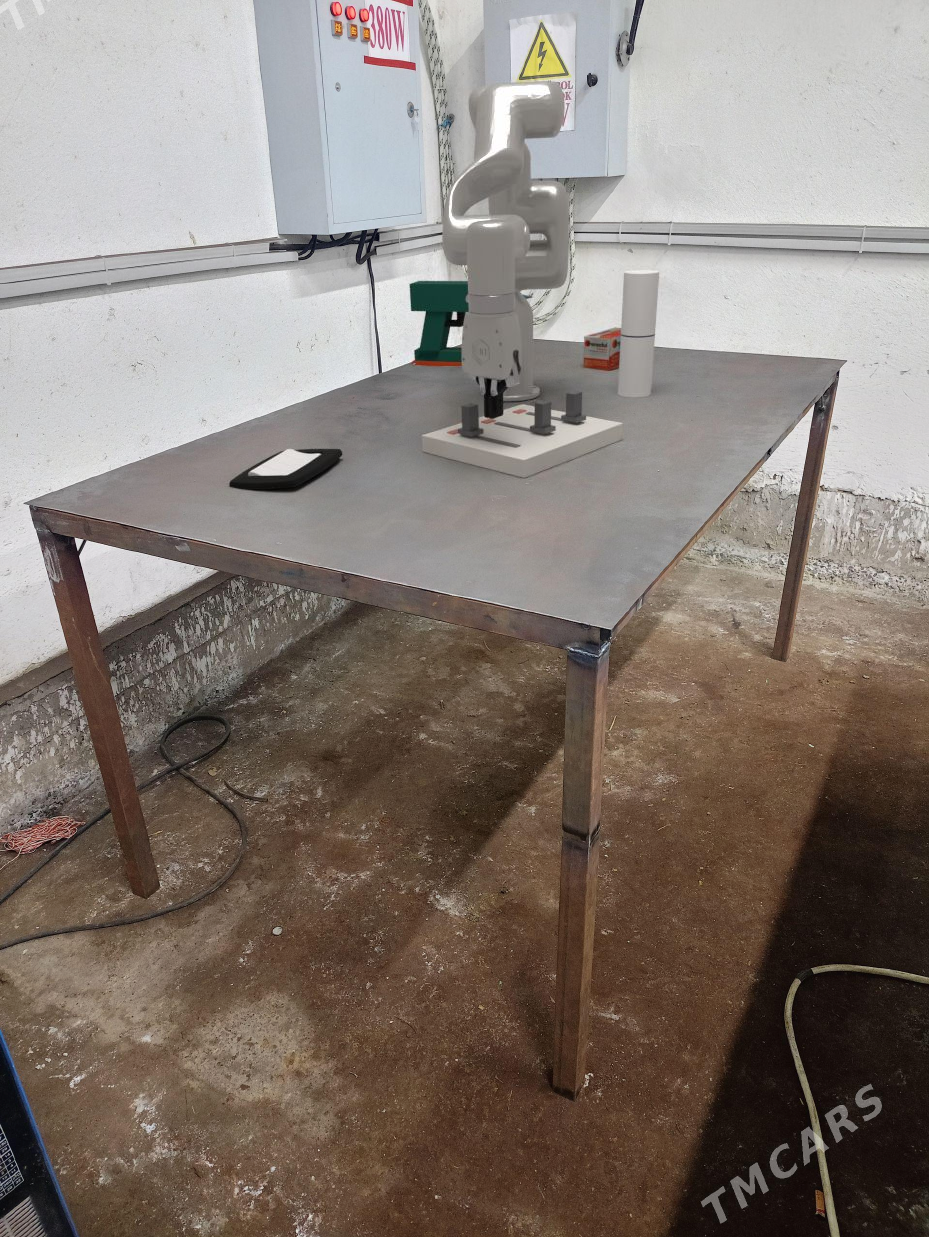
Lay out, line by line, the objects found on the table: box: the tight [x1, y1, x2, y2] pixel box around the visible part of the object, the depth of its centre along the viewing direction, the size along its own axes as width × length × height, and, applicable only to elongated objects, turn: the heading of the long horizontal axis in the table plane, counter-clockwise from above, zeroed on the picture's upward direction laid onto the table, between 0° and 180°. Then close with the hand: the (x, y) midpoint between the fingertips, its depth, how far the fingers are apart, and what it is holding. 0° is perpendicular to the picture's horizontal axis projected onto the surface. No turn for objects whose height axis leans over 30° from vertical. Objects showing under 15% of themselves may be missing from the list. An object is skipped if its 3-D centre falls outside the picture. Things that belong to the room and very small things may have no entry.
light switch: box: [228, 448, 343, 490], centre depth 146 cm, size 20×3×14 cm
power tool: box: [409, 280, 533, 367], centre depth 217 cm, size 32×7×20 cm, turn 71°
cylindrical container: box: [617, 269, 660, 399], centre depth 182 cm, size 7×7×25 cm
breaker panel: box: [421, 403, 624, 479], centre depth 155 cm, size 24×28×3 cm
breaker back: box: [561, 390, 587, 423], centre depth 156 cm, size 4×3×5 cm
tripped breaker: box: [458, 402, 483, 437], centre depth 150 cm, size 4×3×5 cm
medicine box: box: [583, 327, 621, 372], centre depth 215 cm, size 15×8×8 cm, turn 140°
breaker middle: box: [530, 400, 556, 434], centre depth 150 cm, size 4×3×5 cm
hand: (493, 416), depth 147 cm, fingers closed
